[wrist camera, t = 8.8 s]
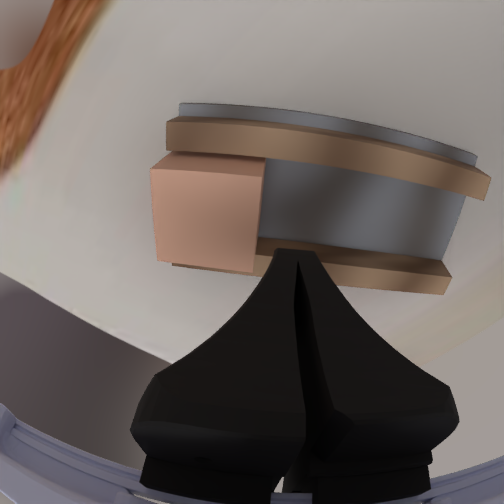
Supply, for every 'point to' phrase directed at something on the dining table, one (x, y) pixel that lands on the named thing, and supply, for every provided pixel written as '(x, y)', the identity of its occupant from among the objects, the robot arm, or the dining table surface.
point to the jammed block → (207, 209)
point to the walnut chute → (343, 191)
